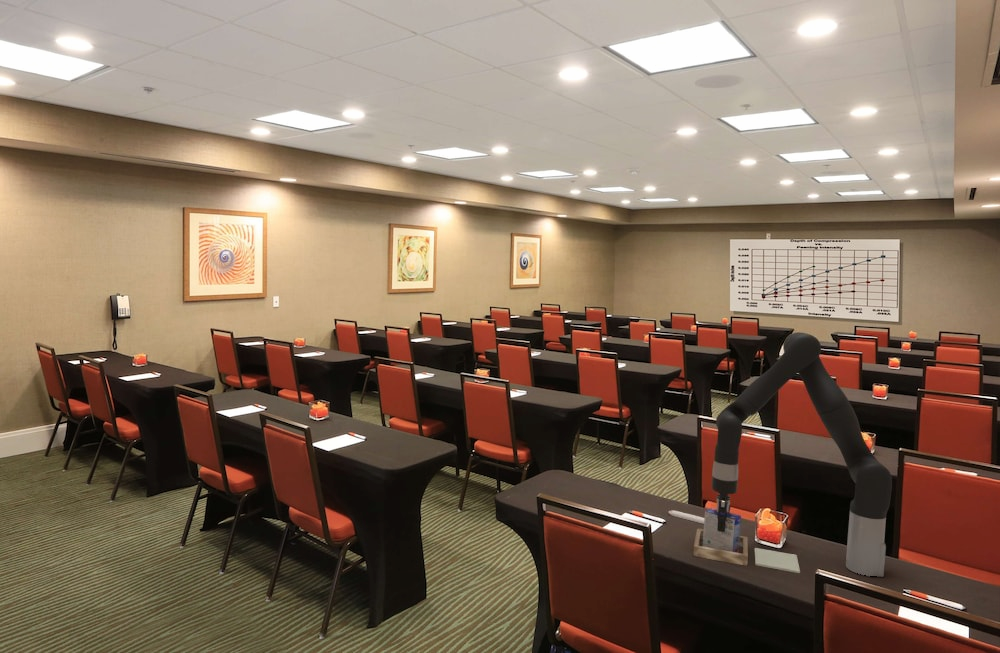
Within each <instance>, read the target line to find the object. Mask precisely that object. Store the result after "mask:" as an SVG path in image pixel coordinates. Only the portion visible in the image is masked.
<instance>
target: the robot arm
mask: <svg viewBox="0 0 1000 653" xmlns="http://www.w3.org/2000/svg"><path fill="white" fill-rule="evenodd" d="M821 352H822V345H821V343H820V341H819V339H818V338H817V337H816V336H814V335H812V334H809V333H806V332H805V333H804V332H800V331H799V332H793V333H790V334H789V335H788V336H786V338H785V340H784V342H783V354H782V355H781V356H780V357H779V359H778V360H776V362H775V363H774V364H773V365H772V366H771V367H770V368H769V369H768V370H767V371H765V372H764V373H762V374H761V375H759V377H757V378H756V379H754V380H753V382H751V383H750V384H749V385H748V386H747V387H746V388H745V389H744V391H742V393H740V395H739V396H738V397H737V398H736V399H735V400H734V401H732V402H731V403H730V404H729V405H727V406H726V407H725V408H724V409H723V410H722V411H721V412H719V414H718V415H717V416H716V420H715V424H716V428H717V441H716V444H715V448H714V460H713V465H712V473H711V474H712V475H711V476H712V477H711V489H712V491H714V492H716V493H719V494H717V495H716V509H717V512H718V516H717V518H718V527H717V530H718V531H719V532H725V523H726V520H727V518H726V515H727V514H728V511H729V506H730V505H731V496H730V495H735V494H736V493H737V491H738V484H739V483H738V482H739V456H740V454H739V453H740V451H739V450H740V446H741V445H740V443H741V439H742V432H743V423H744V422H745V421H747V419H748V418H749V417H752V416H754V415H756V414H757V413H758V412H759V411H760V410H761V409H762V408H763V407H764V406H765V405H766V404H767V403H768V402H769V401H770V400H771V399H772V398H773V397H774V396H775V395H776V393H777V392H778V391H779V390H781V388H783V386H785V385H786V384H787V382H789V381H790V380H791V379H792V378H794V377H795V376H796V375H797V374H798V376H799V377H800V378H801V380H802V382H803V384H804V387H805V389H806V391H807V394H808V396H809V399H810V401H811V403H812V405H813V407H814V409H815V412H816V413H817V415H818V417H819V418H820V420H821V422H822V424H823V426H824V427H825V429H826V431H827V432H828V434H829V435H830V437H831V438H832V440H833V441H834V443H835V444H836V445H837V447H838V449H839V450H840V453H841V454H842V457H843V460H844V462H845V465H846V467H847V469H848V472H849V475H850V477H851V479H852V480H853V482H854V483H855V487H854V488H855V489H854V498H853V499H852V500H851V501H850V503H849V504H850V505H849V520H848V530H847V531H848V532H847V545H846V558H845V567H846V568H847V569H848V570H849V571H850V572H853V573H855V574H857V573H858V575H860V574H861V575H860V576H864V575H866V576H865V577H870V576H877V577H880V578H881V577H884V573H885V561H886V550H887V545H886V543H885V536H886V535H885V534H886V523H887V522H886V520H887V513H888V511H889V509H890V504H891V500H892V499H891V498H892V489H893V477H892V474H891V472H890V470H889V469H888V468H887V467H886V466H885V465H884V464H882V463H881V462H880V461H879V460H878V459H877V458H876V457H875V455H874V453H873V452H872V451H871V449H870V448H869V446H868V445H867V442H866V441H865V439H864V437H863V434H862V429H861V426H860V422H859V420H858V416H857V415H856V412H855V410H854V408H853V406H852V404H851V402H850V401H849V399H848V397H847V396H846V394H845V393H844V391H843V390H842V388H841V387H840V386H839V385H838V383H837V382H836V381H835V380H834V379H833V377H832V376H831V375H830V374H829V372H828V371H827V369H826V367H825V365H824V363H823V362H822V359H821V358H820V355H821ZM728 495H729V496H728ZM720 513H725V516H720Z"/></svg>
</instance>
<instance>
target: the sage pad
mask: <svg viewBox="0 0 1000 653" xmlns="http://www.w3.org/2000/svg"><path fill="white" fill-rule="evenodd" d="M754 560H755V561H754V563H755V566H757V567H763V568H769V569H775V570H780V571H785V572H790V573H795V574H800V573H801V570H800V566H799V560H798V555H797V554H792V553H786V552H782V551H781V552H780V551H777V550H776V551H775V550H770V549H764V548H758V547H754Z"/></svg>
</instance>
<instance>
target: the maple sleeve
mask: <svg viewBox="0 0 1000 653" xmlns="http://www.w3.org/2000/svg"><path fill="white" fill-rule="evenodd" d="M703 532H704V528H703V529H702V528H697V529H696V534H695V538H694V544H693V553H692V554H693V557H696V558H702V559H708V560H713V561H719V562H723V563H730V564H733V565H734V564H735V565H741V566H745V567H747V566H748V562H749V561H748V558H749V555H748V554H749V550H748V546H749V545H748V536H744V535H743V536H742V535H740V538H739V547H740V548H742V553H740V552H739V553H736V552H730V551H725V550H719V549H714V548H708V547H703V545H702V546H701V545H700V544H701V543H700V542H701V541H703Z"/></svg>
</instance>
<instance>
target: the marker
mask: <svg viewBox="0 0 1000 653" xmlns="http://www.w3.org/2000/svg"><path fill="white" fill-rule="evenodd" d="M668 514H669V515H671V516H673V517H675V518H679V519H684V520H687V521H691V522H694V523H699V524H703V525H704V518H705V517H702V516H698V515H694V514H691V513H686V512H681V511H678V510H673V509H672V510H668Z"/></svg>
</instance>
